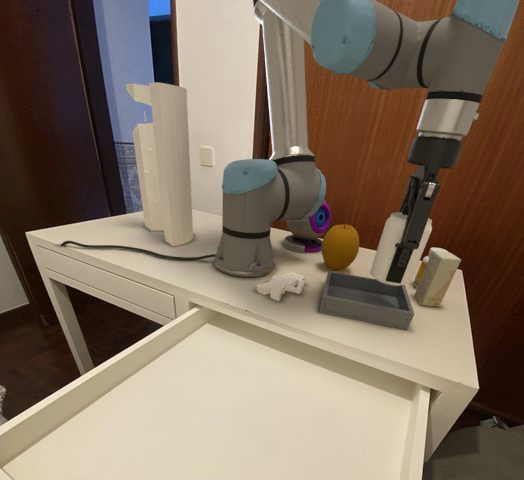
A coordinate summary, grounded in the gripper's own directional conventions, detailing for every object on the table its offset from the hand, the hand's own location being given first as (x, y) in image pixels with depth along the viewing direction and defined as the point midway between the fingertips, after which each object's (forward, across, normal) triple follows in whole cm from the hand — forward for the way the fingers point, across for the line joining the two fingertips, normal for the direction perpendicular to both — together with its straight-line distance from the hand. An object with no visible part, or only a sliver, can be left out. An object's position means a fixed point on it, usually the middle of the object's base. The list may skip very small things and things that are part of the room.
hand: (390, 273), depth 61 cm
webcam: (+8, +35, +22) cm, 42 cm away
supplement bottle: (+8, +18, -12) cm, 23 cm away
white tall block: (+8, +25, +62) cm, 67 cm away
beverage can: (+1, 0, 0) cm, 1 cm away
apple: (+8, +20, +11) cm, 24 cm away
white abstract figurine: (+8, +1, +22) cm, 23 cm away
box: (+8, +9, -11) cm, 16 cm away
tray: (+8, 0, +4) cm, 9 cm away
